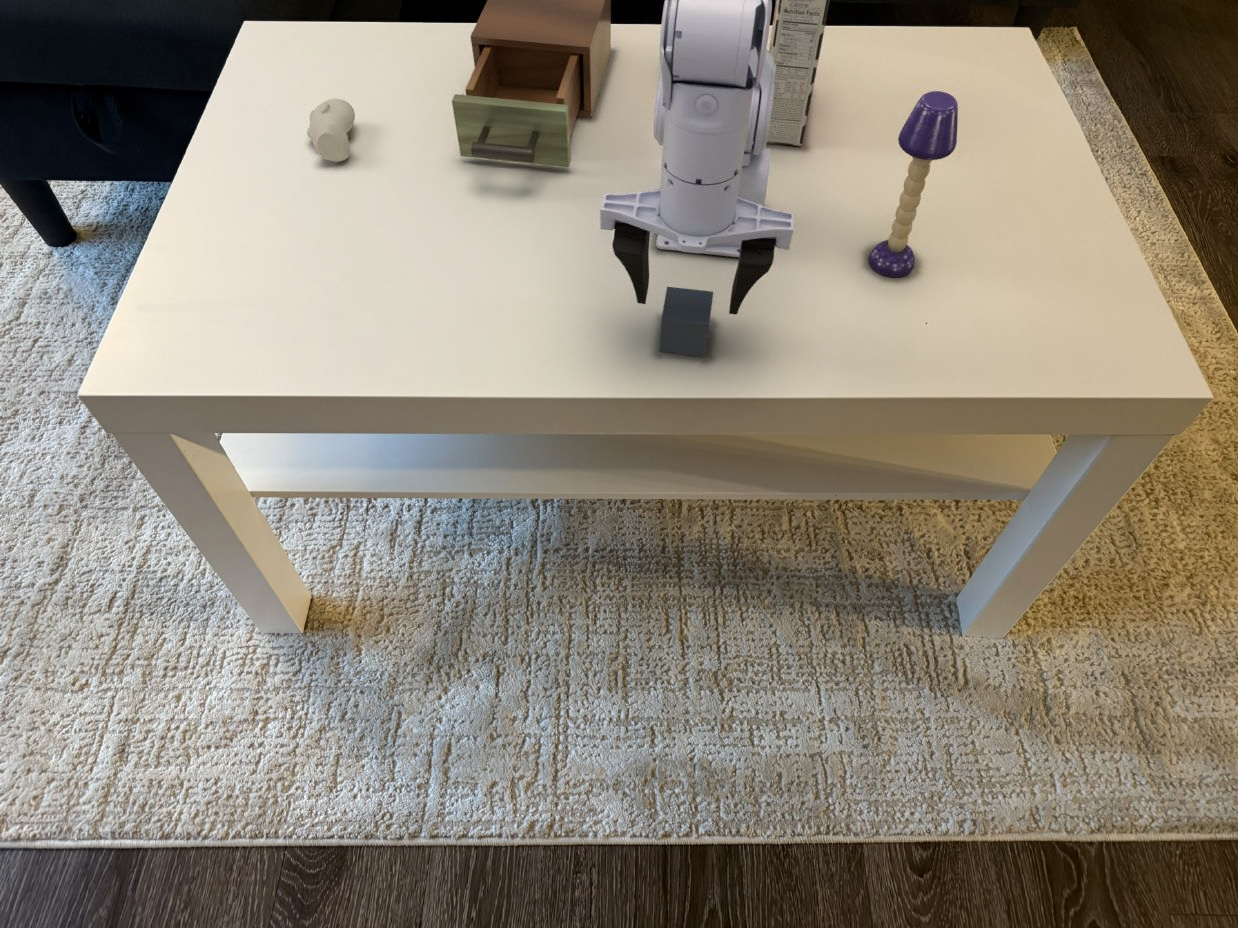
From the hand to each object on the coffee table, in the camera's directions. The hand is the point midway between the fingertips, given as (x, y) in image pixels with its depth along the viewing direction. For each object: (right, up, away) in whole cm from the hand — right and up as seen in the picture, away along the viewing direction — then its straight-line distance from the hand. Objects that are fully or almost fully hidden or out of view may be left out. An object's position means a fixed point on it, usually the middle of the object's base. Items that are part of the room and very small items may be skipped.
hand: (688, 300), depth 73 cm
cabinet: (-14, +31, +27) cm, 43 cm away
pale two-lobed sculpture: (-36, +20, +20) cm, 46 cm away
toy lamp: (+20, +6, +10) cm, 23 cm away
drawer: (-16, +21, +19) cm, 32 cm away
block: (0, -3, +4) cm, 5 cm away
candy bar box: (+12, +25, +23) cm, 36 cm away
